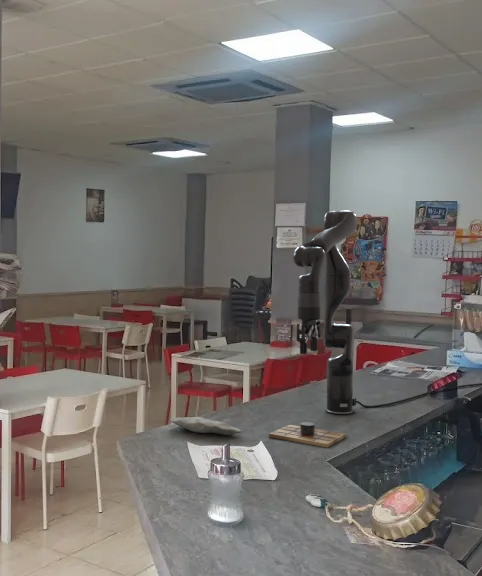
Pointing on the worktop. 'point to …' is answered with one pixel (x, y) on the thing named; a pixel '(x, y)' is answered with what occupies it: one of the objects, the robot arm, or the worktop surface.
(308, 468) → the worktop surface
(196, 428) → the stone tool replica
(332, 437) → the grid board
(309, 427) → the dark grey short cylinder
